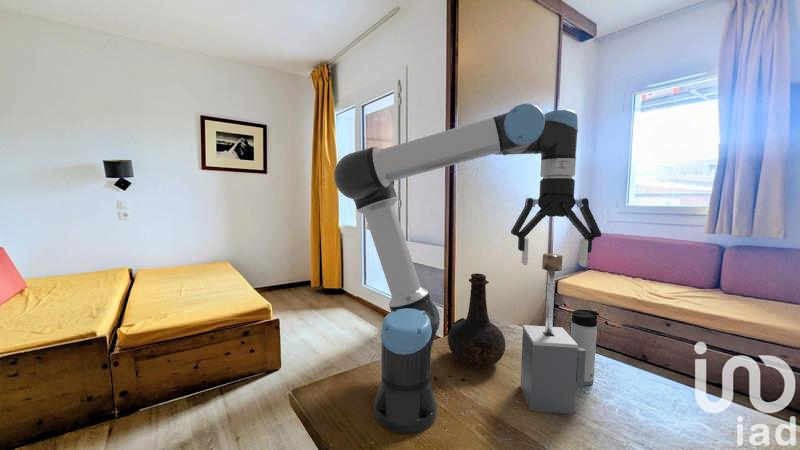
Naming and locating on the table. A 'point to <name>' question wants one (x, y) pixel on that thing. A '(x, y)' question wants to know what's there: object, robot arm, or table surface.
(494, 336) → the glass bottle
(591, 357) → the travel mug
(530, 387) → the press
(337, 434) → the table surface
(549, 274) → the plunger
